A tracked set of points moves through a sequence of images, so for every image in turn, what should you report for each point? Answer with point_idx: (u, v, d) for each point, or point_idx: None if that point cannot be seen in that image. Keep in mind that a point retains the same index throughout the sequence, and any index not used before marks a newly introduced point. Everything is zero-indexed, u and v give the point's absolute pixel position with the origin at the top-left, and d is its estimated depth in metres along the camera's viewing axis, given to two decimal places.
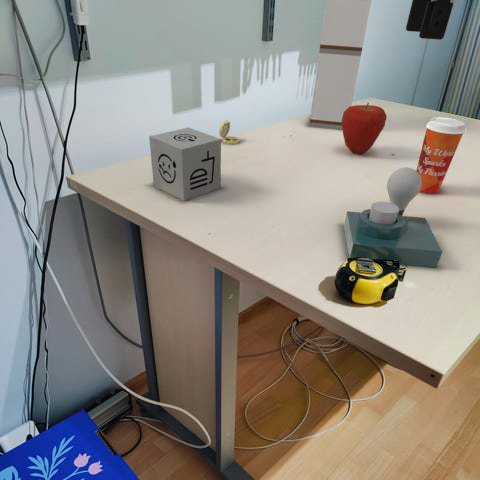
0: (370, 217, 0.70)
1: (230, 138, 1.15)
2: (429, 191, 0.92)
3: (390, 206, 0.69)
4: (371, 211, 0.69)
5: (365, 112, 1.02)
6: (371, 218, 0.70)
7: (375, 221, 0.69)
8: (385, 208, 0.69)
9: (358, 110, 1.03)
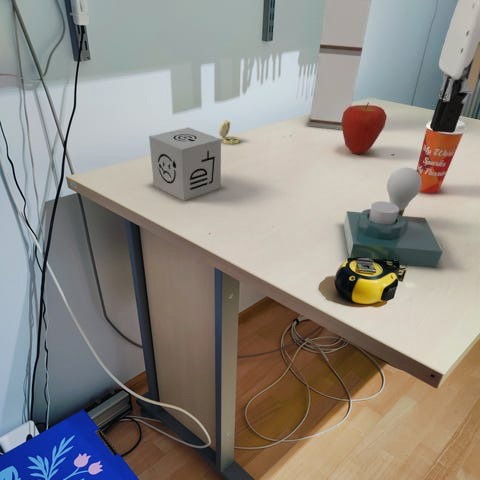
0: (370, 217, 0.70)
1: (230, 138, 1.15)
2: (429, 191, 0.92)
3: (390, 206, 0.69)
4: (371, 211, 0.69)
5: (365, 112, 1.02)
6: (371, 218, 0.70)
7: (375, 221, 0.69)
8: (385, 208, 0.69)
9: (358, 110, 1.03)
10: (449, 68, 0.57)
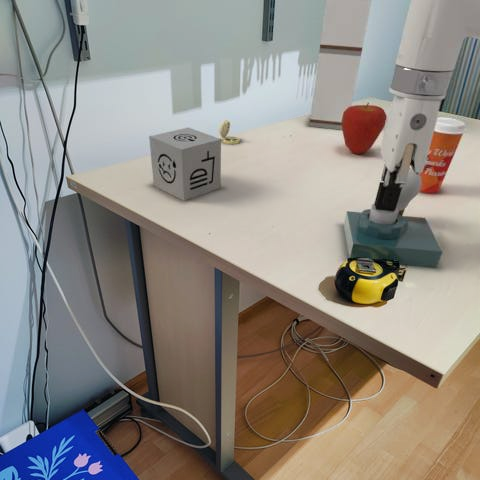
0: (370, 218, 0.70)
1: (230, 138, 1.15)
2: (429, 191, 0.92)
3: None
4: (371, 212, 0.70)
5: (365, 112, 1.02)
6: (371, 219, 0.70)
7: (375, 222, 0.69)
8: None
9: (358, 110, 1.03)
10: (385, 160, 0.63)
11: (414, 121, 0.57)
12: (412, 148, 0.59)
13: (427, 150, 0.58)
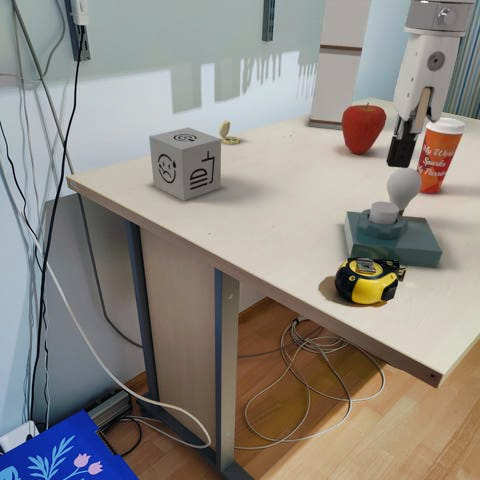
0: (370, 217, 0.70)
1: (230, 138, 1.15)
2: (429, 191, 0.92)
3: (390, 206, 0.69)
4: (371, 211, 0.69)
5: (365, 112, 1.02)
6: (371, 218, 0.70)
7: (375, 221, 0.69)
8: (385, 208, 0.69)
9: (358, 110, 1.03)
10: (399, 109, 0.59)
11: (431, 61, 0.52)
12: (429, 92, 0.55)
13: (445, 94, 0.54)
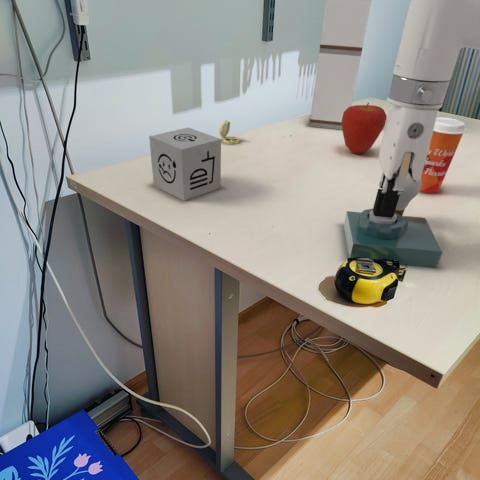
0: None
1: (230, 138, 1.15)
2: (429, 191, 0.92)
3: None
4: (369, 219, 0.70)
5: (365, 112, 1.02)
6: None
7: None
8: None
9: (358, 110, 1.03)
10: (383, 167, 0.64)
11: (411, 130, 0.58)
12: (410, 156, 0.60)
13: (424, 158, 0.59)
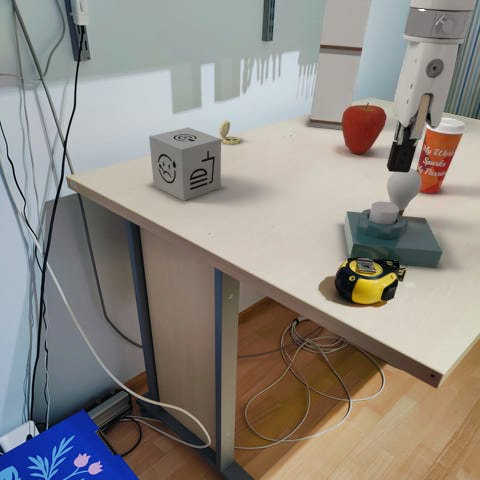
0: (370, 217, 0.70)
1: (230, 138, 1.15)
2: (429, 191, 0.92)
3: (390, 206, 0.69)
4: (371, 211, 0.69)
5: (365, 112, 1.02)
6: (371, 218, 0.70)
7: (375, 221, 0.69)
8: (385, 208, 0.69)
9: (358, 110, 1.03)
10: (399, 115, 0.59)
11: (430, 68, 0.53)
12: (428, 99, 0.55)
13: (444, 100, 0.54)
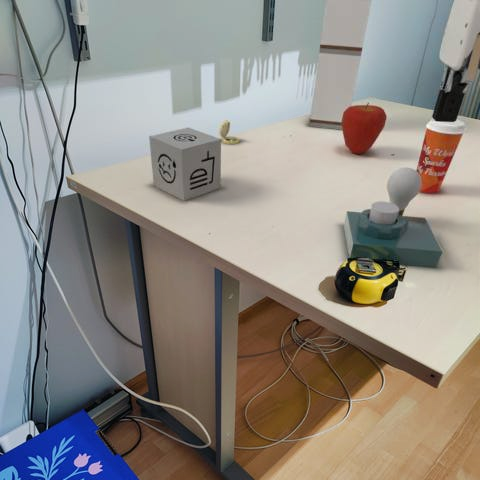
0: (370, 217, 0.70)
1: (230, 138, 1.15)
2: (429, 191, 0.92)
3: (390, 206, 0.69)
4: (371, 211, 0.69)
5: (365, 112, 1.02)
6: (371, 218, 0.70)
7: (375, 221, 0.69)
8: (385, 208, 0.69)
9: (358, 110, 1.03)
10: (449, 59, 0.58)
11: None
12: None
13: None
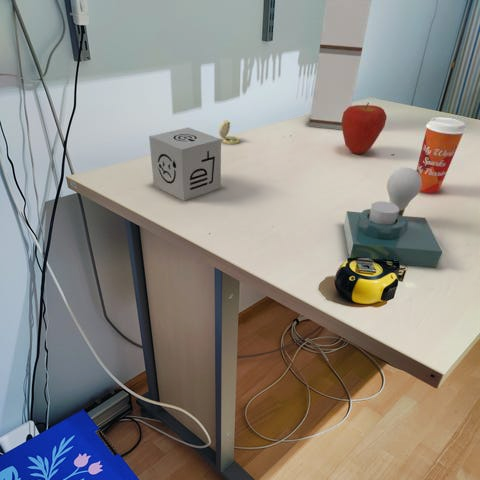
0: (370, 217, 0.70)
1: (230, 138, 1.15)
2: (429, 191, 0.92)
3: (390, 206, 0.69)
4: (371, 211, 0.69)
5: (365, 112, 1.02)
6: (371, 218, 0.70)
7: (375, 221, 0.69)
8: (385, 208, 0.69)
9: (358, 110, 1.03)
10: None
11: None
12: None
13: None
